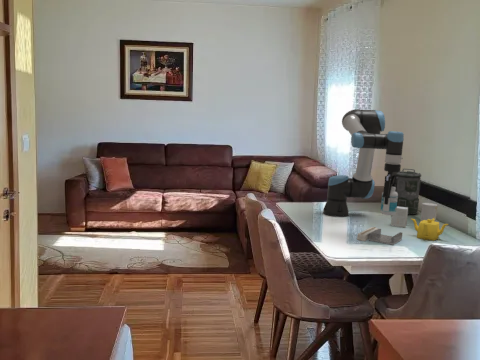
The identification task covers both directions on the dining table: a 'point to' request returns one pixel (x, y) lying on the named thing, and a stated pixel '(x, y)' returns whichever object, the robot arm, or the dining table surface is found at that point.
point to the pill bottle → (393, 202)
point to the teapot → (428, 229)
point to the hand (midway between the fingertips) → (388, 209)
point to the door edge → (365, 234)
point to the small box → (400, 217)
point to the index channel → (384, 237)
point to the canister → (408, 190)
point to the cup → (428, 211)
